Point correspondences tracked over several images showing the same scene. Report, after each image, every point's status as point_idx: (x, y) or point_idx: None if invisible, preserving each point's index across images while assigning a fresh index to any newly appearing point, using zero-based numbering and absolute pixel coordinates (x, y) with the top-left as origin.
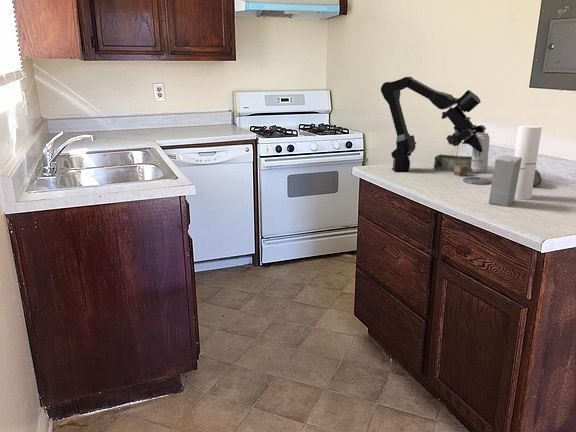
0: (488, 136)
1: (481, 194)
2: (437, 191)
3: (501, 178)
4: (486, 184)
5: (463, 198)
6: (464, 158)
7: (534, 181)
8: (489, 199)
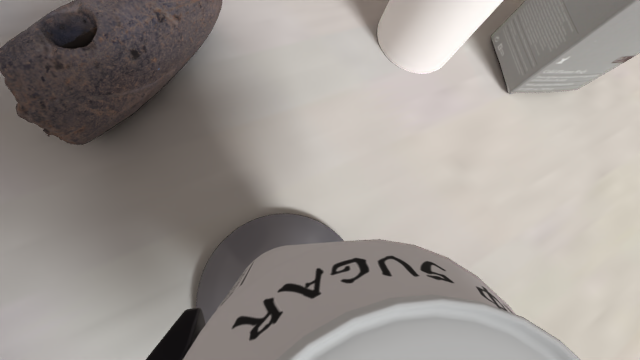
0: (362, 262)
1: (495, 158)
2: (604, 324)
3: None
4: (318, 222)
5: (595, 183)
6: None
7: (217, 12)
8: (591, 80)
